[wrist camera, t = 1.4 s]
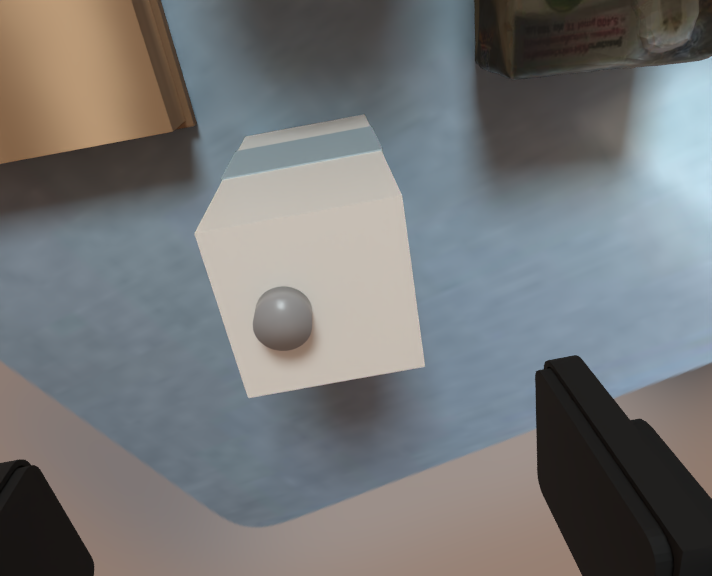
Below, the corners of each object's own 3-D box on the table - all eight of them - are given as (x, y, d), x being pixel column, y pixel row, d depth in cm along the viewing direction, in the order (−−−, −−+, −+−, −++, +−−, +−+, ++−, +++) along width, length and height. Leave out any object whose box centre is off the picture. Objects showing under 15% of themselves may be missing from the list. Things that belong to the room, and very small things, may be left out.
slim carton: (365, 113, 25) (408, 203, 14) (383, 227, 28) (431, 384, 16) (244, 135, 25) (185, 244, 14) (273, 247, 28) (244, 417, 16)
